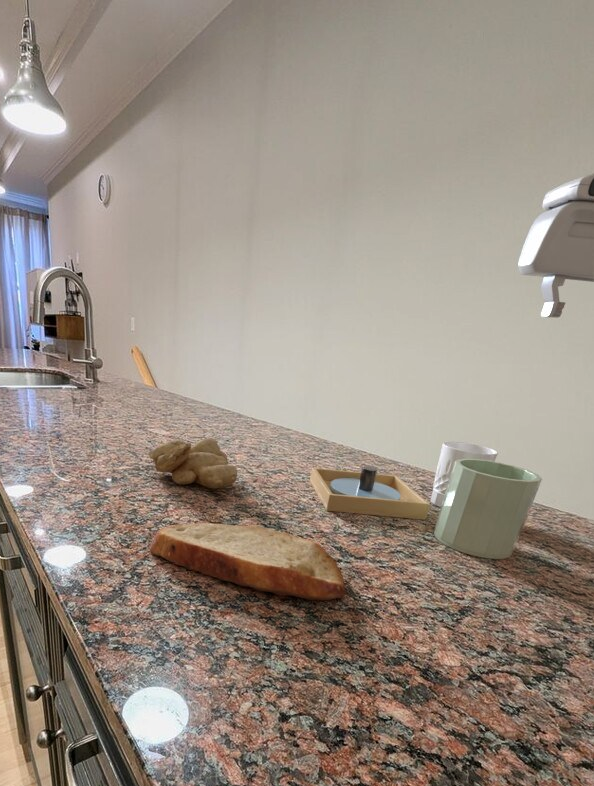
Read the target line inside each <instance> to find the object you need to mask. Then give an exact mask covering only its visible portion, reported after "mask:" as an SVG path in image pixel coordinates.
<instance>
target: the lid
mask: <svg viewBox="0 0 594 786" xmlns="http://www.w3.org/2000/svg"><path fill="white" fill-rule="evenodd" d="M360 472H361V475H360V479H356V478H340V479H335V480H333V481H332V482H331V483H330V488H331V490H332V491H333V492H335V493H336V494H339V495H349V496H360V497H371V498H381V499H392V500H400V498H401V495H400V493H399V492H398V491H397V490H395V489H393V488H391V487H389V486H387V485H384V484H381V483H378V482H375V479H376V475H377V474H378V469H377V468H376V467H373V466H365V465H364V466H362V467H361V471H360Z"/></svg>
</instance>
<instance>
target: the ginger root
mask: <svg viewBox="0 0 594 786" xmlns="http://www.w3.org/2000/svg"><path fill="white" fill-rule="evenodd" d="M148 456H149V458H150V460H152V461H153V462H154V468H155V470H156V472H158V473H165V474H166V473H167V474H171V479H172V481H173V482H174V483H176V484H177V485H182V486H183V485H190V484H193V482H195V483H196V484H198V485H202V486H204V487H206V488H210V489H213V490H215V489H222V488H226V487H230V486H232V485H233V484H234V483H235V482H236V481H237V477H238V469H237V467H236V465H232V464H229V463H228V462H229V461H228V460H229V459H228V457H227V455H226V453H225V452H224V451H221V448H220V446H219V444H218V441H217V440H216V439H214V438H204V439H199V440H198V441H197V442H196V443H195V444H193V445H192V442H191V443H190V442H188V443H186V442H185V441H183V440H181V439H175V440H174V439H173V440H170V441H168V442H165V443H163V444H161V445H158V446H156V447H155V448H154V449H152V450H150V451H149V452H148Z"/></svg>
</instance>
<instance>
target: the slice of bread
mask: <svg viewBox="0 0 594 786" xmlns="http://www.w3.org/2000/svg"><path fill="white" fill-rule="evenodd" d="M149 552H150V553H152V554H153V555H155V556H157V557H162V558H163V559H165V560H166V561H169V562H172V563H173V564H174V565H175V566H181V567H184V568H186V569H187V570H189V571H195V572H199V573H201V574H203V575H205V576H210V577H213V578H216V579H218V580H221V581H224V582H227V583H228V582H229V583H234V584H236V585H238V586H240V587H247V588H248V587H249V588H252V589H253V590H256V591H258V592H269V593H272V594H275V595H276V596H280V597H285V596H286V597H287V596H288V597H289V596H293V597H296V598H298V599H304V600H308V601H331V600H335V599H344V598H345V597H346V595H347V590H346V584H345V581H344V577H343V574H342V571H341V570H340V567H339V566H338V564H337V563H336V561H335V560H334V558H333V557H332V556H331V555H330V554H329V553H328V552H327V551H326V549H325V548H323V546H321V545H320V544H319V543H318V542H315V541H313V540H309V539H306V538H303V537H299V536H296V535H294V534H291V533H289V532H286V531H279V530H276V529H266V528H264V527H261V526H260V527H259V526H254V525H233V524H222V523H211V522H210V523H208V522H200V523H199V522H197V523H181V524H180V523H179V524H172V525H168V526H165V527H162V528H161V529H158V531H157V532H156V533H155V535H154V536H153V538H152V540H151V542H150V545H149Z"/></svg>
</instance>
